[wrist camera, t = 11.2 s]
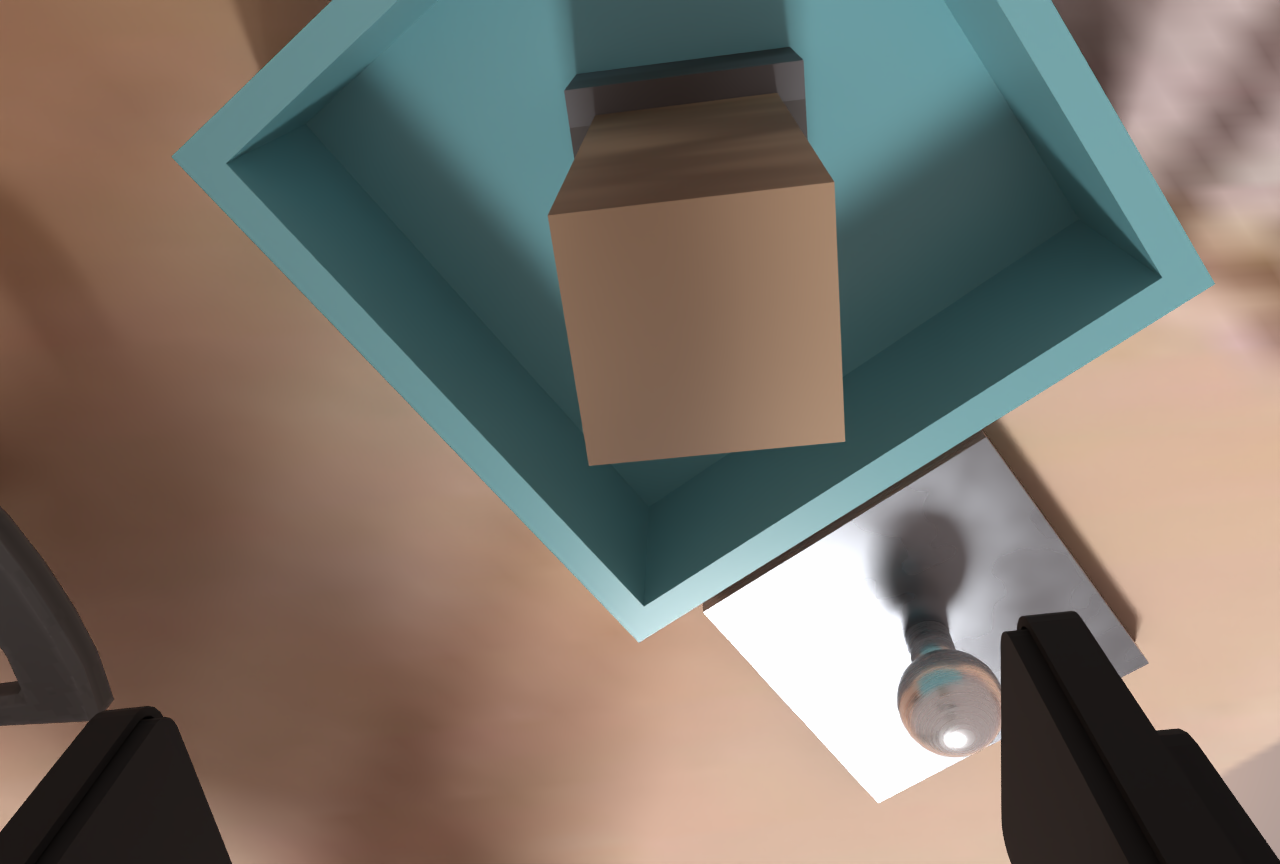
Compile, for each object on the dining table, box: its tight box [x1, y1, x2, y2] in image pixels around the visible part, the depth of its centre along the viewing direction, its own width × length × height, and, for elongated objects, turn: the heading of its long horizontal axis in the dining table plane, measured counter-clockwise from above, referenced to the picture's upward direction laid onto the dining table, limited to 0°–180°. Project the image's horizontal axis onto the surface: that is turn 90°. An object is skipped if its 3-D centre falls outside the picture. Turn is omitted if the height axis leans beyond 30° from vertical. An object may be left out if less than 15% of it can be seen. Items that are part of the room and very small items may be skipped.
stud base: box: [703, 429, 1148, 803], centre depth 30 cm, size 10×10×6 cm
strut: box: [548, 47, 845, 466], centre depth 20 cm, size 5×5×12 cm
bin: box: [172, 0, 1215, 642], centre depth 24 cm, size 16×16×6 cm
